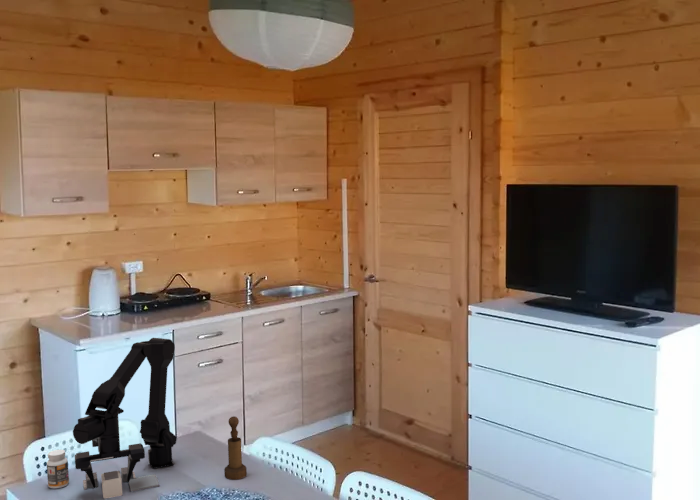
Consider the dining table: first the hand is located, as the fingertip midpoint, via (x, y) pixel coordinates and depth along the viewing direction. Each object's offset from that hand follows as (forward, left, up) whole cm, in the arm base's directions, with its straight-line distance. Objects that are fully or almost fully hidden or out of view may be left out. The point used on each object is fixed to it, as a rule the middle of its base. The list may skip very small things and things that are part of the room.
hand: (111, 484), depth 208 cm
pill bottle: (+14, -11, -2) cm, 18 cm away
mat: (-9, -1, -2) cm, 9 cm away
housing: (0, -7, -2) cm, 7 cm away
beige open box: (0, +1, -2) cm, 2 cm away
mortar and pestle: (-35, +5, -2) cm, 35 cm away
